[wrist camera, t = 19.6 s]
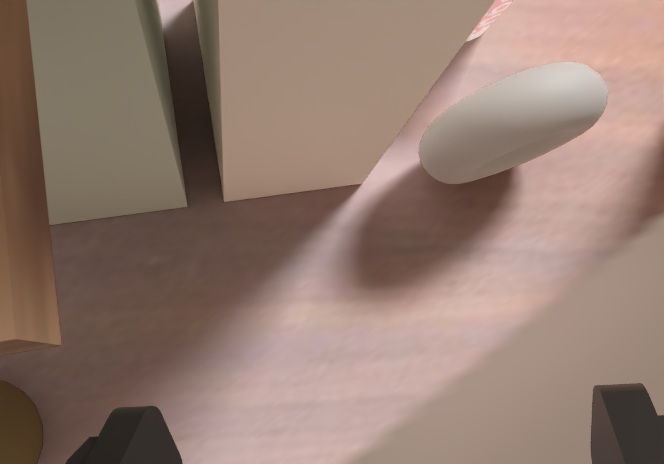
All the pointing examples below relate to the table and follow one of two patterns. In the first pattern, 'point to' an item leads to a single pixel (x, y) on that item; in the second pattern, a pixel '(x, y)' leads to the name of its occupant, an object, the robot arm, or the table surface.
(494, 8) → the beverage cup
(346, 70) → the stand
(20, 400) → the cork
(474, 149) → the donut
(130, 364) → the table surface
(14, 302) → the slat
